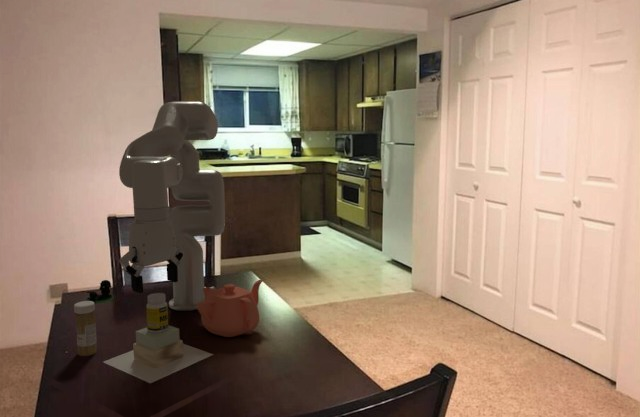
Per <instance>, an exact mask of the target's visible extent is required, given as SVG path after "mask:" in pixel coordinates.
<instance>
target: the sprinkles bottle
mask: <svg viewBox="0 0 640 417" xmlns="http://www.w3.org/2000/svg"><path fill="white" fill-rule="evenodd" d="M95 304H96V303H94V302H93V301H85V300H83V301H79V302H76V303H75V304H74V305H73V310H74V314H75V330H76V333H75V334H76V345H77V355H78V356H80V357H88V356H89V357H90V356H92V355H95V354H96V353H97V352H98V350H97V348H98V347H97V341H98V340H97V328H96V327H97V326H96V317H95V316H96V314H95V310H96V306H95Z"/></svg>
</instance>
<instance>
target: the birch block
mask: <svg viewBox="0 0 640 417" xmlns="http://www.w3.org/2000/svg"><path fill="white" fill-rule="evenodd" d="M183 344H184V342H183V340H182V339H180V341H178V342H175V343H173V344H170V345H168V346H165V347H163V348H160V349H158V350H152V349H149V348H147V347H144V346H141V345H139V344H136V342H134V343H132V348H133V349H132V350H134V360H136V361H138V362H141V363H143V364H145V365H148V366H150V367H153V368H155V369H156V368H158V367H160V366H163V365H165V364H167V363H170V362H172V361H174V360H176V359H179V358H181V357H183Z"/></svg>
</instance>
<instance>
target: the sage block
mask: <svg viewBox="0 0 640 417" xmlns="http://www.w3.org/2000/svg"><path fill="white" fill-rule="evenodd" d="M180 340H181V339H180V328H178V327H175V326H173V325H169V324H168V329H167V330H166V331H164V332H160V333H151V332H149V331H148V330H147V327H143V328H141V329H138V330H135V343H136V344H139V345H141V346H144V347H147V348H149V349H152V350H158V349H160V348H163V347H165V346H168V345H170V344H173V343H175V342H178V341H180Z"/></svg>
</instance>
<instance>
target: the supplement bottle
mask: <svg viewBox="0 0 640 417" xmlns="http://www.w3.org/2000/svg"><path fill="white" fill-rule="evenodd" d="M168 310H169V308H168V303H167V301H166V294H165V293H163V292H155V293H153V292H152V293H150V294H148V295H147V304H146V326H147V330H148V331H149V332H151V333H160V332H164V331H166V330H167V329H168V325H169V314H168V313H169V312H168Z"/></svg>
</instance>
